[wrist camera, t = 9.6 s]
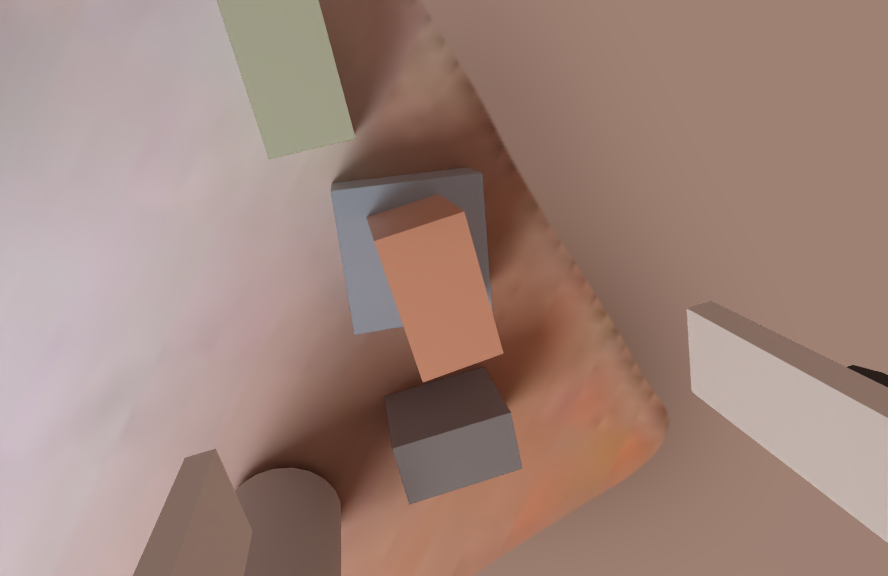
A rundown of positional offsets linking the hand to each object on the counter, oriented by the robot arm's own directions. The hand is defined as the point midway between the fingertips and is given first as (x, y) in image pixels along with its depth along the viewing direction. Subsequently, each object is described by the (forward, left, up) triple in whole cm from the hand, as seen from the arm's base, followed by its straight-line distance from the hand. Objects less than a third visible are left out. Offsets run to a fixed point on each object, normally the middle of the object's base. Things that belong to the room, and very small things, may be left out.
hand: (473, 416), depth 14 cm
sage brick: (-11, -3, -19) cm, 22 cm away
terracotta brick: (0, +1, -15) cm, 15 cm away
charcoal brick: (+11, 0, -19) cm, 22 cm away
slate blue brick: (-1, +1, -19) cm, 19 cm away
